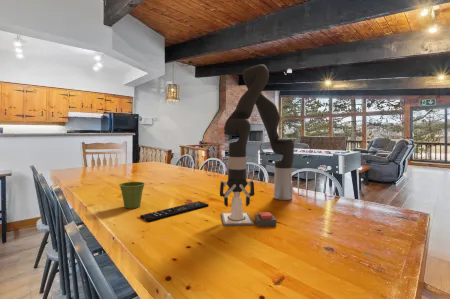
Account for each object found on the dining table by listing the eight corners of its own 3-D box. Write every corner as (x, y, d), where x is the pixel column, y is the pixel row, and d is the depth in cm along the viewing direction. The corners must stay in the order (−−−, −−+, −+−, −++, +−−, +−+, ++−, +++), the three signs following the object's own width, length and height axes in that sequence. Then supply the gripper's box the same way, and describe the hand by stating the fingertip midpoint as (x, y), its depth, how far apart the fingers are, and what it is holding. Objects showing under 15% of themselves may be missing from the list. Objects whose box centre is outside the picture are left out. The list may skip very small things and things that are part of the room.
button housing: (271, 219, 105) (271, 213, 105) (276, 226, 98) (276, 219, 98) (254, 220, 105) (255, 214, 105) (258, 226, 98) (258, 220, 98)
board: (247, 213, 113) (247, 211, 113) (254, 225, 99) (254, 222, 99) (221, 214, 112) (221, 212, 112) (223, 225, 98) (223, 223, 98)
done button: (269, 216, 104) (269, 212, 104) (271, 219, 100) (272, 215, 99) (259, 216, 103) (259, 212, 103) (261, 220, 99) (261, 215, 99)
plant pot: (150, 206, 123) (149, 183, 122) (126, 212, 114) (125, 187, 113) (138, 201, 131) (137, 180, 130) (115, 206, 122) (114, 183, 121)
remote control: (139, 219, 107) (139, 214, 107) (198, 204, 129) (198, 200, 129) (148, 223, 101) (148, 219, 101) (208, 207, 124) (208, 203, 124)
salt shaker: (229, 215, 108) (229, 189, 107) (242, 214, 109) (242, 189, 108) (231, 219, 103) (231, 193, 102) (244, 219, 103) (244, 192, 102)
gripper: (252, 166, 108) (251, 203, 110) (219, 166, 107) (219, 203, 108) (256, 168, 101) (255, 208, 102) (220, 168, 100) (220, 209, 101)
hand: (236, 205), depth 105 cm, fingers open, 8 cm apart
